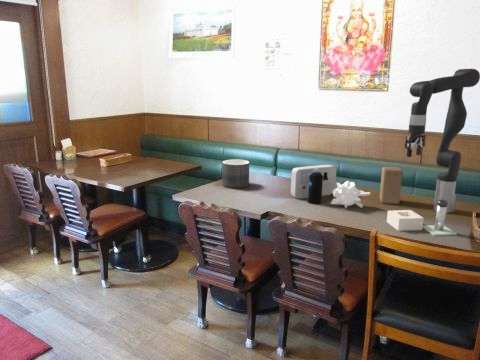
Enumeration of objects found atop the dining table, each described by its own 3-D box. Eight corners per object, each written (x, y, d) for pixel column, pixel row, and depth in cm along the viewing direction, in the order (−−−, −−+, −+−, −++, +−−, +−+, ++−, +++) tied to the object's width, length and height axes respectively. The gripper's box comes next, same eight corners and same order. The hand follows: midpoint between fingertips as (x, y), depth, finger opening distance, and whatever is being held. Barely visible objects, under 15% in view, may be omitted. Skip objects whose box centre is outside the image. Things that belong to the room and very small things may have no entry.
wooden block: (399, 204, 230) (403, 170, 225) (381, 203, 232) (384, 169, 227) (396, 199, 239) (400, 166, 234) (378, 198, 241) (382, 166, 236)
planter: (249, 188, 261) (249, 165, 257) (221, 188, 261) (221, 164, 257) (249, 181, 278) (249, 159, 274) (223, 181, 278) (223, 159, 274)
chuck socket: (409, 221, 203) (410, 209, 202) (422, 229, 192) (423, 218, 190) (386, 221, 202) (387, 210, 200) (398, 230, 190) (399, 218, 189)
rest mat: (442, 226, 196) (442, 225, 196) (456, 235, 186) (456, 233, 185) (421, 227, 195) (421, 225, 195) (434, 235, 184) (434, 234, 184)
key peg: (445, 229, 190) (449, 201, 186) (440, 231, 187) (444, 203, 184) (436, 227, 193) (440, 199, 190) (431, 229, 191) (435, 200, 187)
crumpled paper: (340, 190, 212) (339, 168, 221) (326, 207, 225) (326, 187, 234) (375, 199, 214) (372, 177, 224) (359, 216, 228) (357, 195, 237)
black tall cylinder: (323, 201, 235) (325, 167, 230) (319, 205, 228) (321, 170, 223) (309, 199, 238) (311, 166, 233) (305, 203, 231) (307, 169, 226)
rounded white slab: (296, 200, 237) (298, 170, 233) (290, 196, 244) (291, 167, 239) (337, 195, 248) (339, 166, 243) (329, 192, 255) (331, 164, 250)
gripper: (416, 125, 193) (412, 158, 197) (432, 123, 201) (428, 155, 205) (402, 124, 199) (398, 156, 203) (418, 122, 207) (414, 153, 211)
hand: (413, 155), depth 204 cm, fingers open, 8 cm apart
